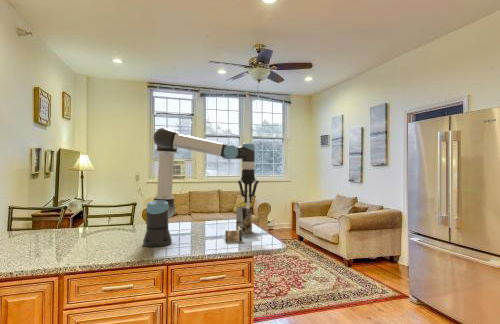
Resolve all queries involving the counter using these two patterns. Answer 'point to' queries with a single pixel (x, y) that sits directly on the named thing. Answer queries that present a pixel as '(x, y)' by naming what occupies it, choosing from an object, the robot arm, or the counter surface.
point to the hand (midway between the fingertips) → (247, 208)
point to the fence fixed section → (233, 235)
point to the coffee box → (244, 219)
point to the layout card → (244, 239)
